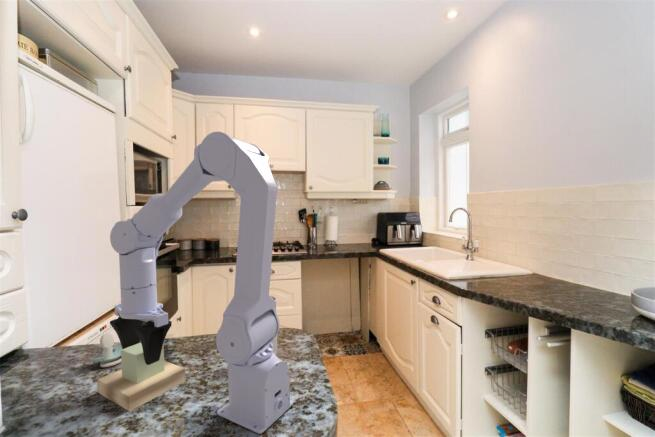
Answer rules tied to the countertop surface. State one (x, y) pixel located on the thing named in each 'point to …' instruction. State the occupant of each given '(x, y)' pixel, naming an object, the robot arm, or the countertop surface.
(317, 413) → the countertop surface
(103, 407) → the countertop surface
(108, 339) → the pacifier
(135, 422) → the countertop surface
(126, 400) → the block
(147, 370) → the green cube
